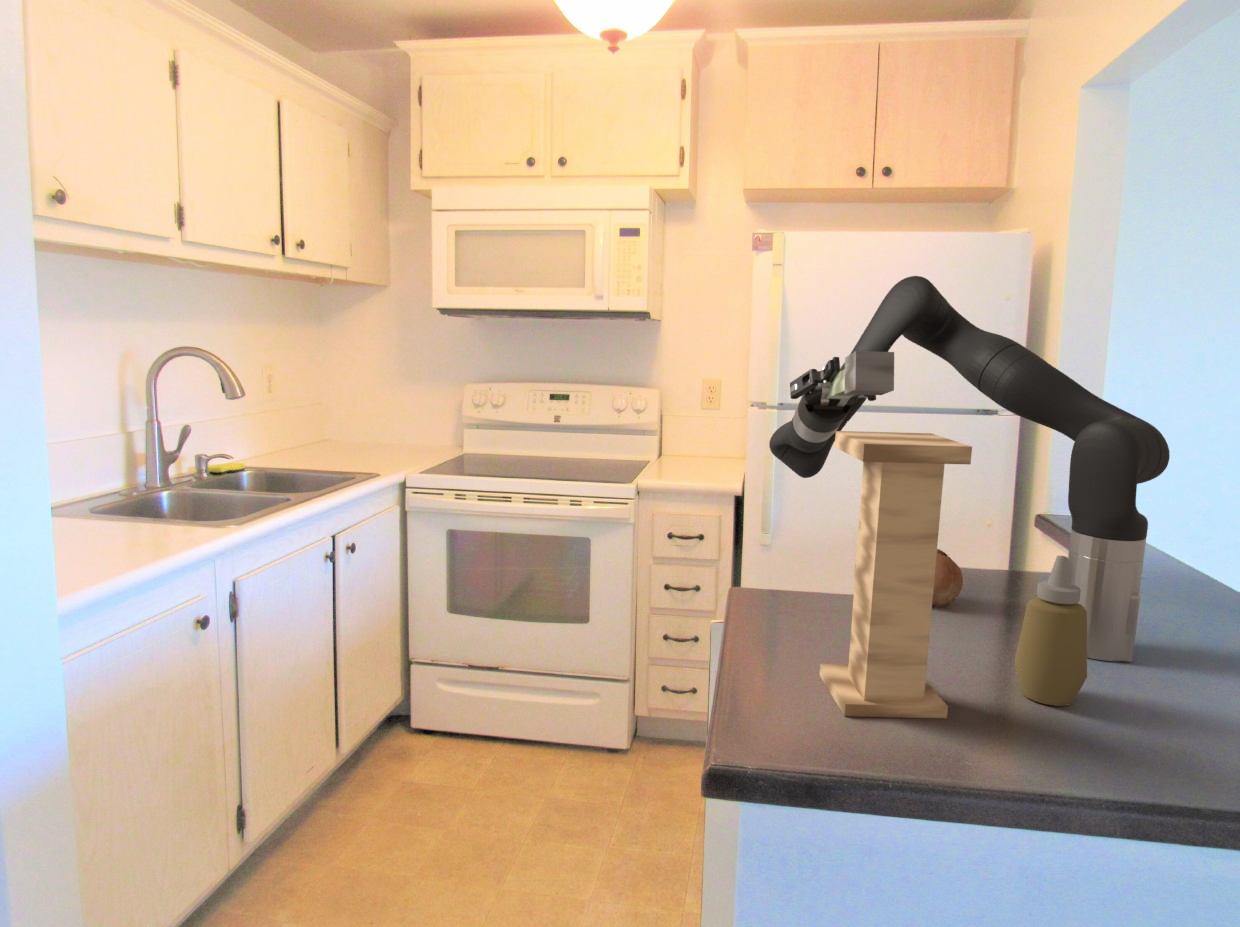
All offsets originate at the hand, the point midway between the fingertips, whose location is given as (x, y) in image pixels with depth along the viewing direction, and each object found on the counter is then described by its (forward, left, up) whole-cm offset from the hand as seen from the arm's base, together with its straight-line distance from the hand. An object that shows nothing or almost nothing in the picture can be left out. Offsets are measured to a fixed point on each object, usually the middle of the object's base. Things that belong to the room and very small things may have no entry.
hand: (849, 363), depth 121 cm
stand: (-12, +20, -40) cm, 46 cm away
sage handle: (-2, +3, -5) cm, 6 cm away
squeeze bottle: (-30, +9, -40) cm, 51 cm away
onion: (-11, -22, -40) cm, 47 cm away
